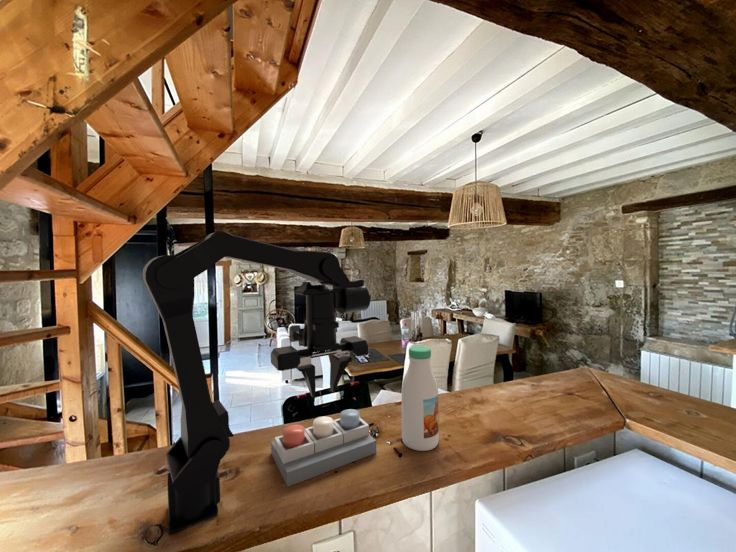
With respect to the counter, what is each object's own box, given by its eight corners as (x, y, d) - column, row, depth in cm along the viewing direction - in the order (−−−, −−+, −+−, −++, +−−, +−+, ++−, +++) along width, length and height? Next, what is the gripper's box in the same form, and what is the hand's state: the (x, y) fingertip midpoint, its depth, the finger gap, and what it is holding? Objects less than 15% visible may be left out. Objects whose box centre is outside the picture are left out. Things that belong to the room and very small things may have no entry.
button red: (286, 451, 57) (286, 438, 57) (280, 440, 61) (280, 428, 60) (307, 444, 59) (307, 431, 59) (300, 434, 63) (300, 422, 63)
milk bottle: (410, 455, 62) (409, 355, 61) (396, 434, 70) (395, 345, 69) (445, 448, 64) (445, 351, 63) (428, 429, 72) (428, 342, 71)
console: (287, 486, 54) (286, 461, 54) (271, 453, 63) (270, 431, 63) (376, 452, 63) (376, 430, 63) (350, 428, 73) (350, 408, 72)
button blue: (345, 432, 63) (345, 420, 63) (337, 423, 67) (337, 412, 67) (363, 426, 65) (362, 415, 65) (353, 418, 69) (353, 407, 69)
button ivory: (317, 441, 60) (317, 428, 60) (310, 431, 64) (310, 419, 64) (336, 435, 62) (336, 423, 62) (328, 426, 66) (328, 414, 66)
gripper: (345, 307, 74) (346, 373, 74) (262, 315, 64) (265, 390, 65) (370, 313, 64) (371, 389, 65) (277, 324, 54) (279, 412, 55)
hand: (322, 394), depth 63 cm, fingers open, 4 cm apart
